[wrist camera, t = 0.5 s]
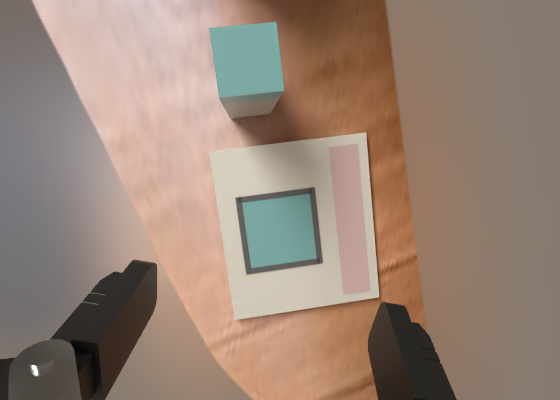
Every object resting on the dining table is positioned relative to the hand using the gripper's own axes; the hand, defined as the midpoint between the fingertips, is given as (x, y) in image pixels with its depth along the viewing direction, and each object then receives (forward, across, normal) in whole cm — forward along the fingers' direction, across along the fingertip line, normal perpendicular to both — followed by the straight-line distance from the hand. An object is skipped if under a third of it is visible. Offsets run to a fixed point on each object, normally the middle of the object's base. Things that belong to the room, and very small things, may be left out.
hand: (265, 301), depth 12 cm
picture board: (+23, -2, +9) cm, 25 cm away
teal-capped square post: (+26, +5, -3) cm, 26 cm away
